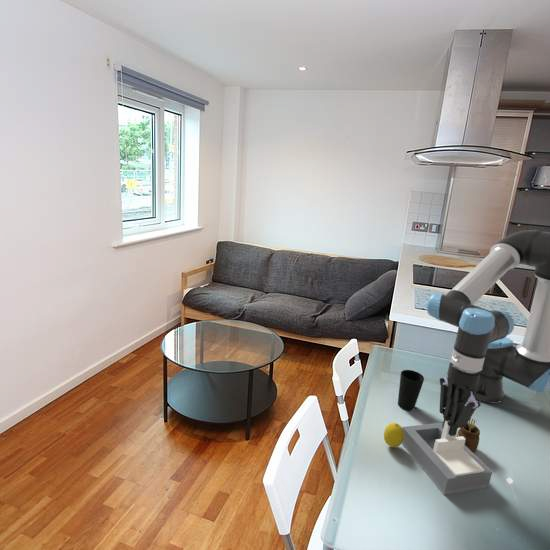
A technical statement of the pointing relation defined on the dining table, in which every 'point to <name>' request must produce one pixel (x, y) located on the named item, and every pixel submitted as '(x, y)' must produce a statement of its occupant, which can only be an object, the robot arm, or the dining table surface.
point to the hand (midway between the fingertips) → (446, 441)
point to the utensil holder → (470, 435)
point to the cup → (409, 389)
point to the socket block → (421, 449)
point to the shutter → (456, 456)
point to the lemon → (393, 435)
